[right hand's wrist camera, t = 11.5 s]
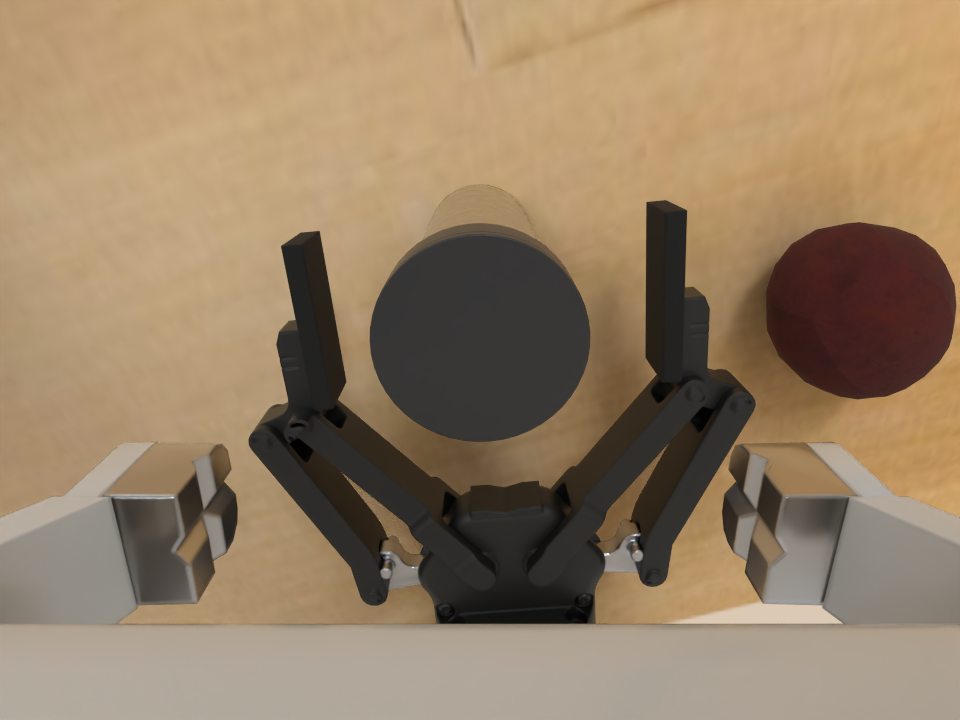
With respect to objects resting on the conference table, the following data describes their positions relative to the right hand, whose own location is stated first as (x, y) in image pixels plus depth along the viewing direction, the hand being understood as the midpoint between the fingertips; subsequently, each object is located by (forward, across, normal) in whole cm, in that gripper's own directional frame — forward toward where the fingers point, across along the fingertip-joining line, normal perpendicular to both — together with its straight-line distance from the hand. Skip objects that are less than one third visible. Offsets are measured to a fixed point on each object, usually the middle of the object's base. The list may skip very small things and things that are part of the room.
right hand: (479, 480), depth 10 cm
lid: (+7, 0, 0) cm, 7 cm away
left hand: (+15, 0, -2) cm, 15 cm away
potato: (+22, -16, +3) cm, 27 cm away
